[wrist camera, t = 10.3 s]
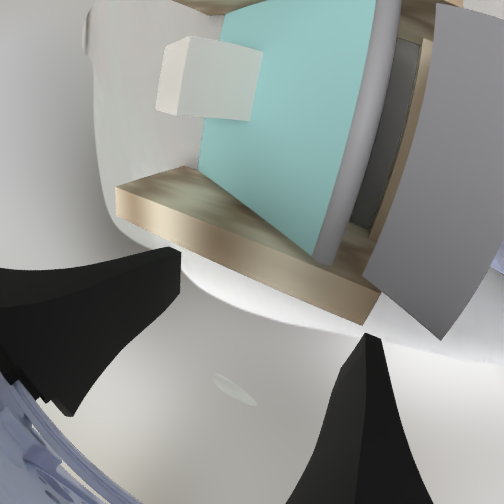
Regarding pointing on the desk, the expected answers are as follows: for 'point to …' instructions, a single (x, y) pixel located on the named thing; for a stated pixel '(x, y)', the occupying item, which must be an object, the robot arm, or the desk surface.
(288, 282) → the rail stand
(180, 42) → the gray cube
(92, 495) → the robot arm
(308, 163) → the trapdoor
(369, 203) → the desk surface
